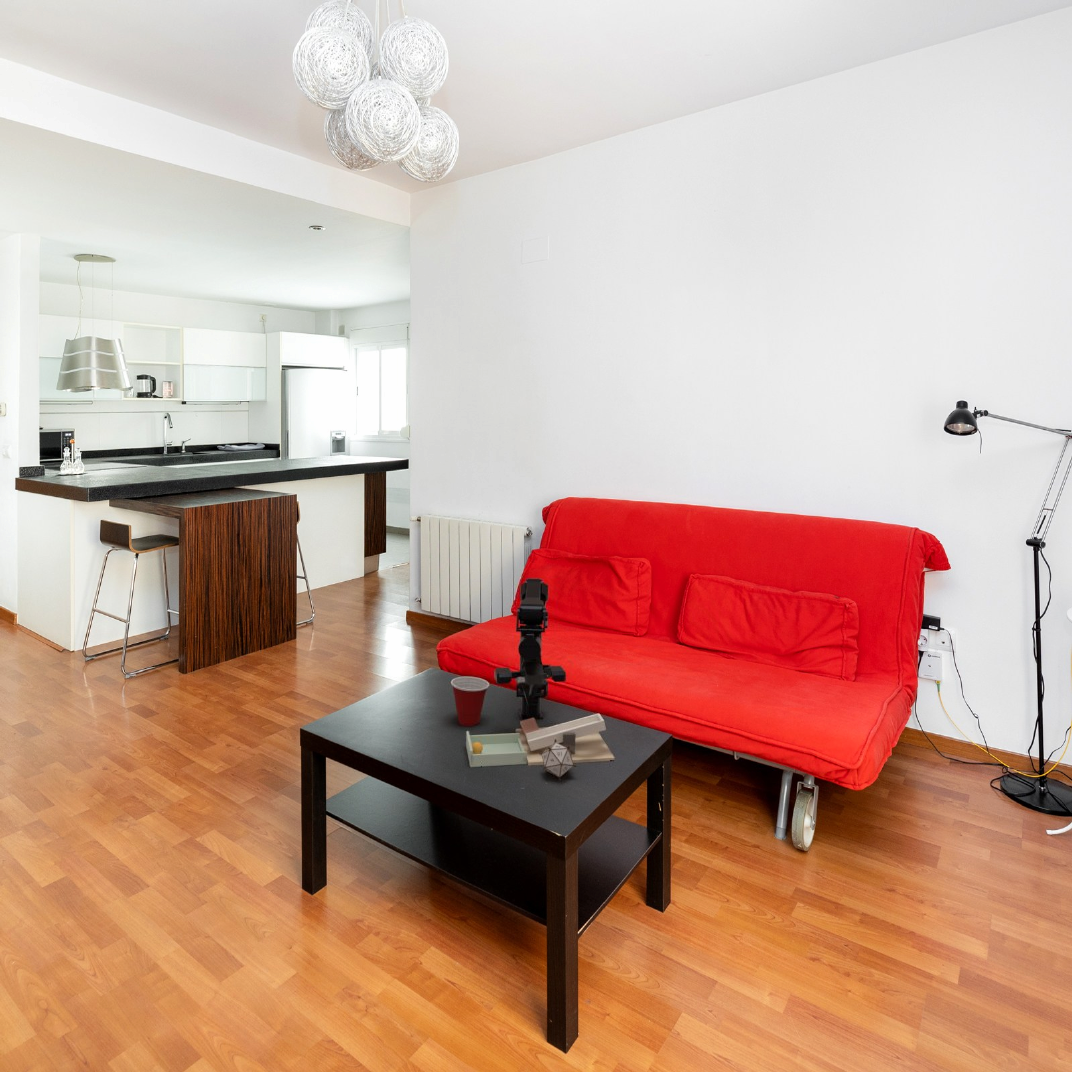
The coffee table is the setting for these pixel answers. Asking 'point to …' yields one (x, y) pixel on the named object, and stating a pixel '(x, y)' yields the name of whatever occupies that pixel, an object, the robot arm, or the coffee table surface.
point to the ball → (477, 748)
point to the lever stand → (572, 748)
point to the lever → (560, 730)
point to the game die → (557, 759)
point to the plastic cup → (469, 698)
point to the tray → (496, 750)
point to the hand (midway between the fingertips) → (529, 705)
